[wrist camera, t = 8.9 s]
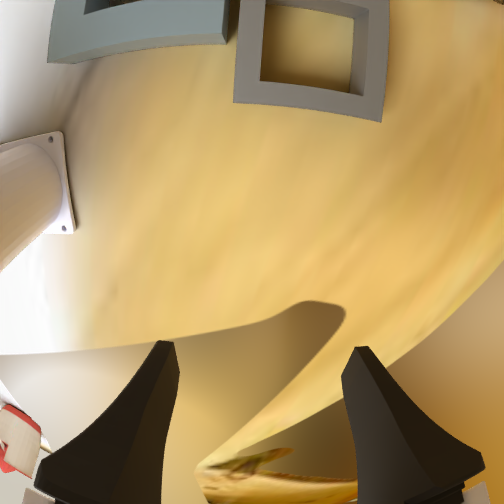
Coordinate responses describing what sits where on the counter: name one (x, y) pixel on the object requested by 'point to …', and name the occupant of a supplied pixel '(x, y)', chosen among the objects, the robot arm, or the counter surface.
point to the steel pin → (129, 1)
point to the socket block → (132, 27)
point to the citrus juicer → (18, 441)
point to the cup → (500, 1)
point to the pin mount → (298, 96)
